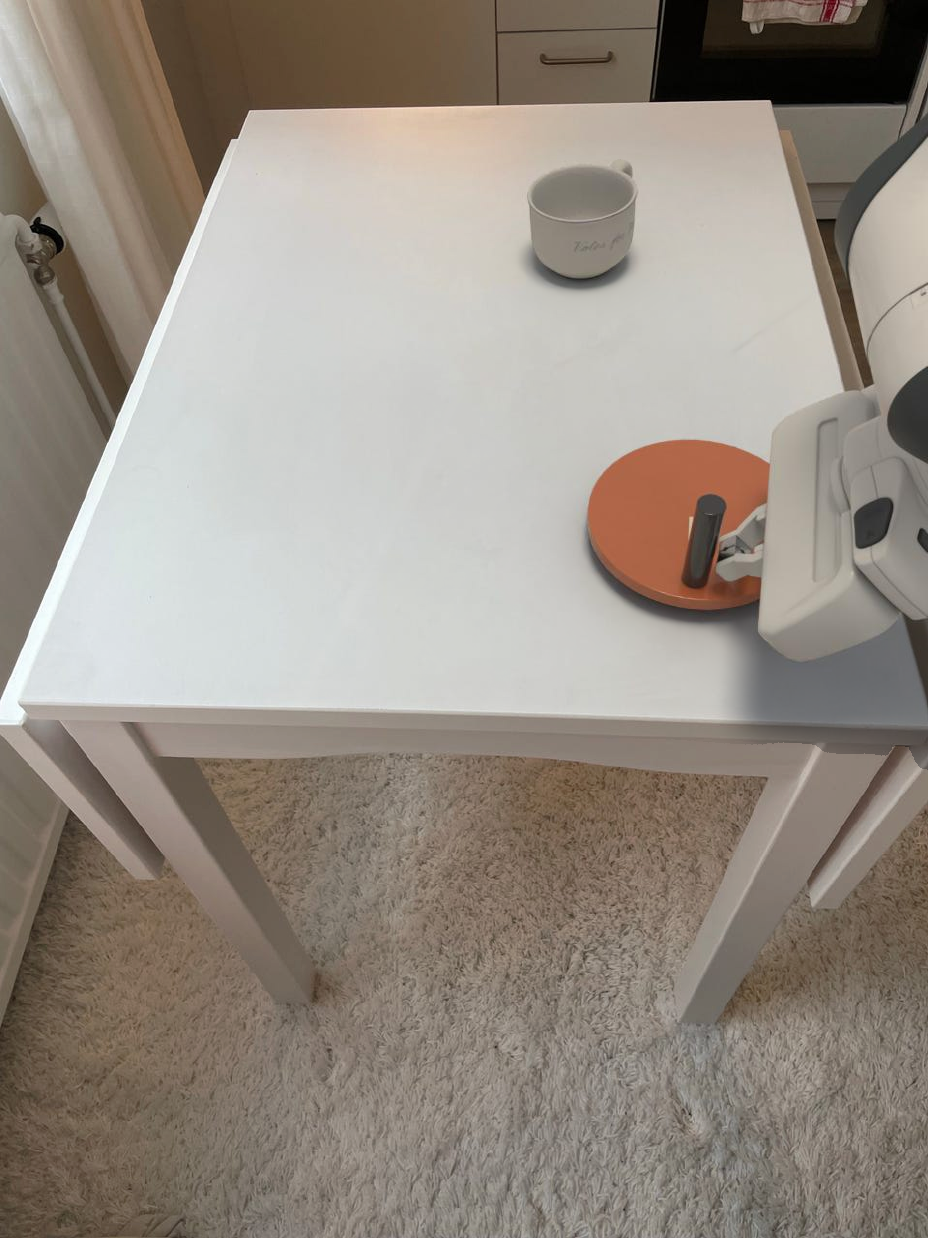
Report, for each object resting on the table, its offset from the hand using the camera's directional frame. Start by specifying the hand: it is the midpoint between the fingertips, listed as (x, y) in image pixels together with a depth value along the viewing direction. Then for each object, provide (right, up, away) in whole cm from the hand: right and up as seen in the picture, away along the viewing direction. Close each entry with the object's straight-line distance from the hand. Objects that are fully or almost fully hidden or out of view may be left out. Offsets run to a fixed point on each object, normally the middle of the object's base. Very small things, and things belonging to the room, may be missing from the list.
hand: (722, 560), depth 69 cm
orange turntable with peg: (0, +3, +7) cm, 7 cm away
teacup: (-5, +34, +32) cm, 47 cm away
